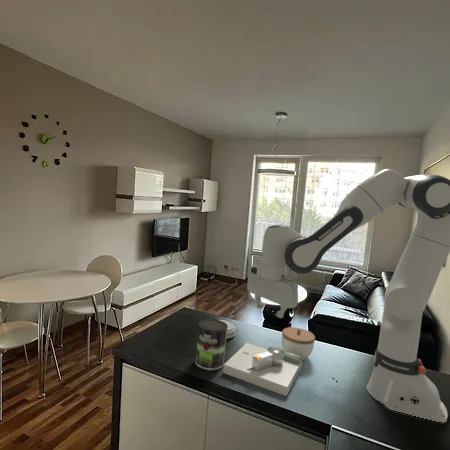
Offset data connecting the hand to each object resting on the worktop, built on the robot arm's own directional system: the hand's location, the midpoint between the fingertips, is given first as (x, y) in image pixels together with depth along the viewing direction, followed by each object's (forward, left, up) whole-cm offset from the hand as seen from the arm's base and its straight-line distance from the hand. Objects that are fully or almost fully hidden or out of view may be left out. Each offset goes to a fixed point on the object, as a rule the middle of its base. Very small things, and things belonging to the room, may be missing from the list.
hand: (269, 312), depth 107 cm
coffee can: (+19, +4, -22) cm, 29 cm away
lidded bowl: (-6, -21, -22) cm, 31 cm away
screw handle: (-1, -1, -19) cm, 19 cm away
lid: (+27, -20, -22) cm, 40 cm away
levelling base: (+1, -3, -22) cm, 22 cm away
